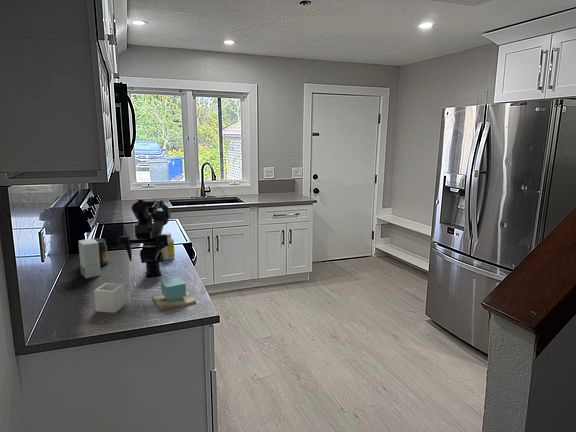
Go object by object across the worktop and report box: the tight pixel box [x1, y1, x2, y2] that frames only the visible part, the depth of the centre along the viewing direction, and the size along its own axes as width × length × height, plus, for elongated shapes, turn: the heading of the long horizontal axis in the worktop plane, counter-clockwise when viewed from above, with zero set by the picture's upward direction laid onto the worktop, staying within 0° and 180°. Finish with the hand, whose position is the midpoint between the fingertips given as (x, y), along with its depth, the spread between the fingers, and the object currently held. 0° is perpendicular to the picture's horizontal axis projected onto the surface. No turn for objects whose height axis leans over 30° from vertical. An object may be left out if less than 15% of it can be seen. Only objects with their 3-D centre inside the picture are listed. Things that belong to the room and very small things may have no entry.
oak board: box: [152, 289, 197, 312], centre depth 147 cm, size 13×13×1 cm
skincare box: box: [78, 238, 102, 279], centre depth 173 cm, size 8×7×16 cm
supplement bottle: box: [161, 232, 176, 261], centre depth 196 cm, size 7×7×13 cm
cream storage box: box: [93, 282, 127, 313], centre depth 141 cm, size 7×7×8 cm
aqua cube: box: [160, 277, 187, 302], centre depth 147 cm, size 7×7×6 cm
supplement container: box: [93, 237, 109, 268], centre depth 186 cm, size 10×10×12 cm
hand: (142, 260), depth 152 cm, fingers open, 9 cm apart
